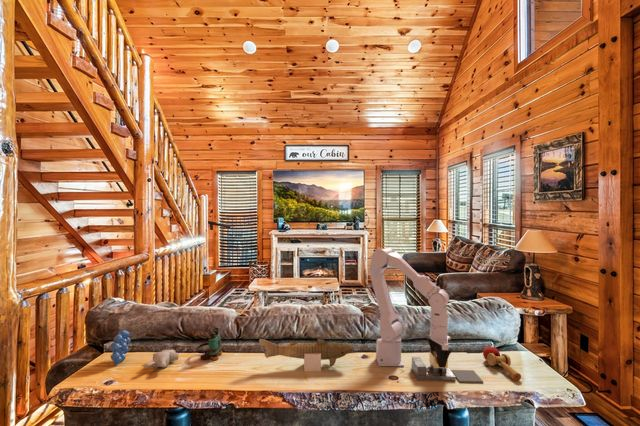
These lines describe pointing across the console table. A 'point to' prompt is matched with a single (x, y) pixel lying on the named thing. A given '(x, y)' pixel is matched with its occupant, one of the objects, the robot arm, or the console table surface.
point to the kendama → (500, 361)
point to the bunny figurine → (163, 358)
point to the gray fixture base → (430, 371)
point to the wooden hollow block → (435, 360)
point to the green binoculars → (212, 346)
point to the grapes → (120, 346)
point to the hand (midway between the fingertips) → (438, 362)
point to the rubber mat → (467, 376)
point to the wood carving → (308, 352)
